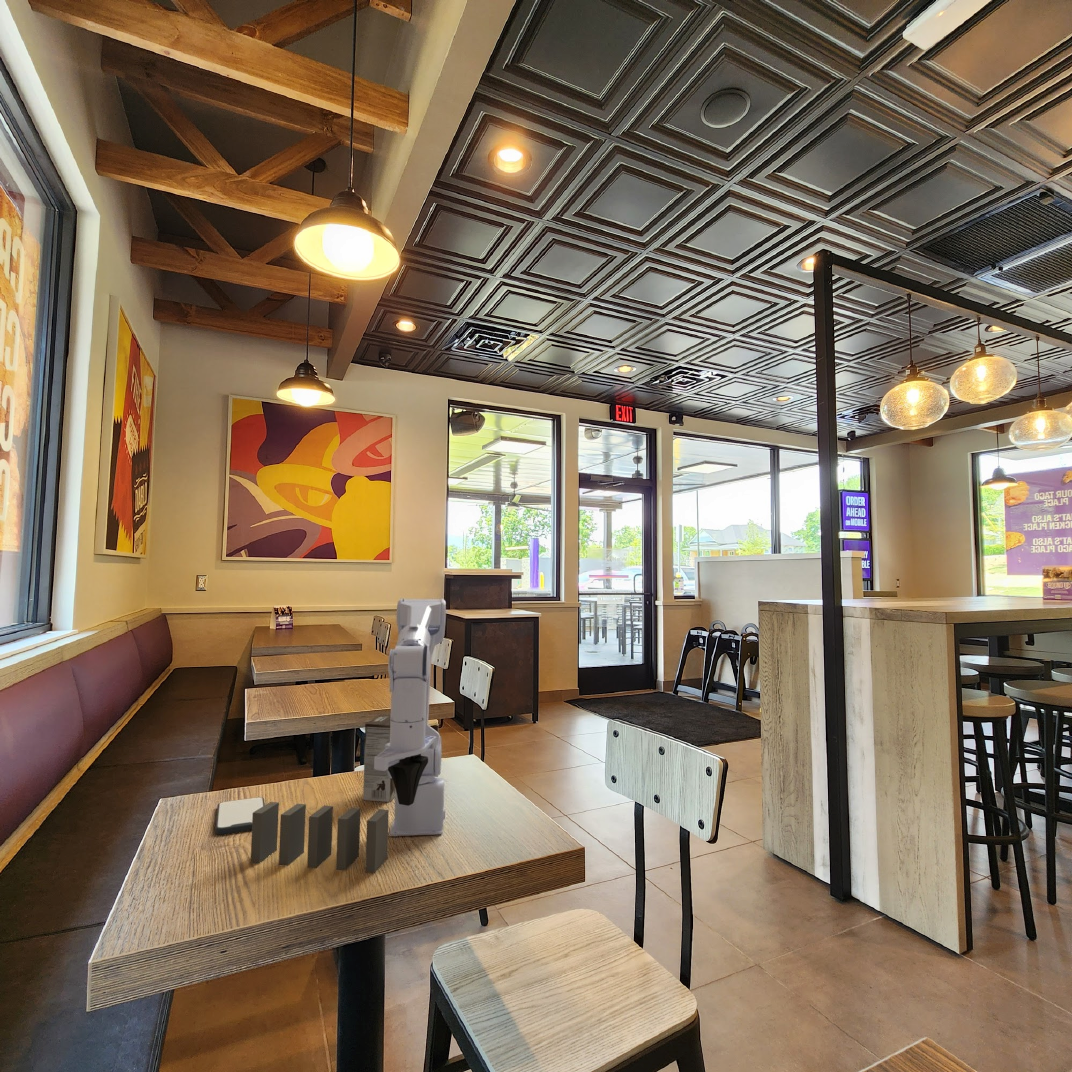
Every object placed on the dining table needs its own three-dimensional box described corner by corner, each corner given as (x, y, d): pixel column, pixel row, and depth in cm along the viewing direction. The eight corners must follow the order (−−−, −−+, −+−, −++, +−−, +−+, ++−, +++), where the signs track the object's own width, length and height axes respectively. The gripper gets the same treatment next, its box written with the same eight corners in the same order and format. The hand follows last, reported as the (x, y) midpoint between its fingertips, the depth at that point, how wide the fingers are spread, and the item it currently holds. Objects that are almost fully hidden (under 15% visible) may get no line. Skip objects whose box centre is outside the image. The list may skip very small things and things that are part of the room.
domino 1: (304, 852, 102) (305, 804, 103) (287, 865, 97) (289, 815, 98) (295, 851, 102) (297, 803, 103) (278, 865, 98) (280, 814, 98)
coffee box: (378, 786, 136) (380, 713, 137) (405, 787, 135) (407, 715, 136) (361, 800, 127) (363, 723, 128) (390, 802, 126) (392, 724, 127)
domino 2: (331, 854, 102) (333, 806, 102) (316, 868, 97) (318, 817, 97) (322, 853, 102) (324, 805, 102) (307, 867, 97) (309, 816, 97)
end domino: (277, 850, 103) (278, 802, 104) (259, 863, 98) (261, 813, 99) (268, 849, 103) (270, 801, 104) (250, 862, 98) (252, 812, 99)
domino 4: (387, 859, 100) (388, 809, 101) (374, 873, 95) (376, 821, 96) (378, 858, 100) (379, 809, 101) (365, 872, 95) (366, 820, 96)
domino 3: (359, 856, 101) (360, 807, 101) (345, 870, 96) (347, 819, 96) (350, 856, 101) (351, 807, 102) (336, 870, 96) (337, 818, 97)
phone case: (216, 810, 122) (213, 838, 108) (217, 802, 123) (214, 829, 108) (264, 803, 126) (267, 830, 112) (264, 795, 127) (267, 821, 112)
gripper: (413, 708, 107) (411, 786, 106) (359, 725, 94) (356, 815, 93) (447, 712, 104) (445, 792, 103) (396, 730, 91) (394, 822, 90)
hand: (406, 803), depth 98 cm, fingers closed
